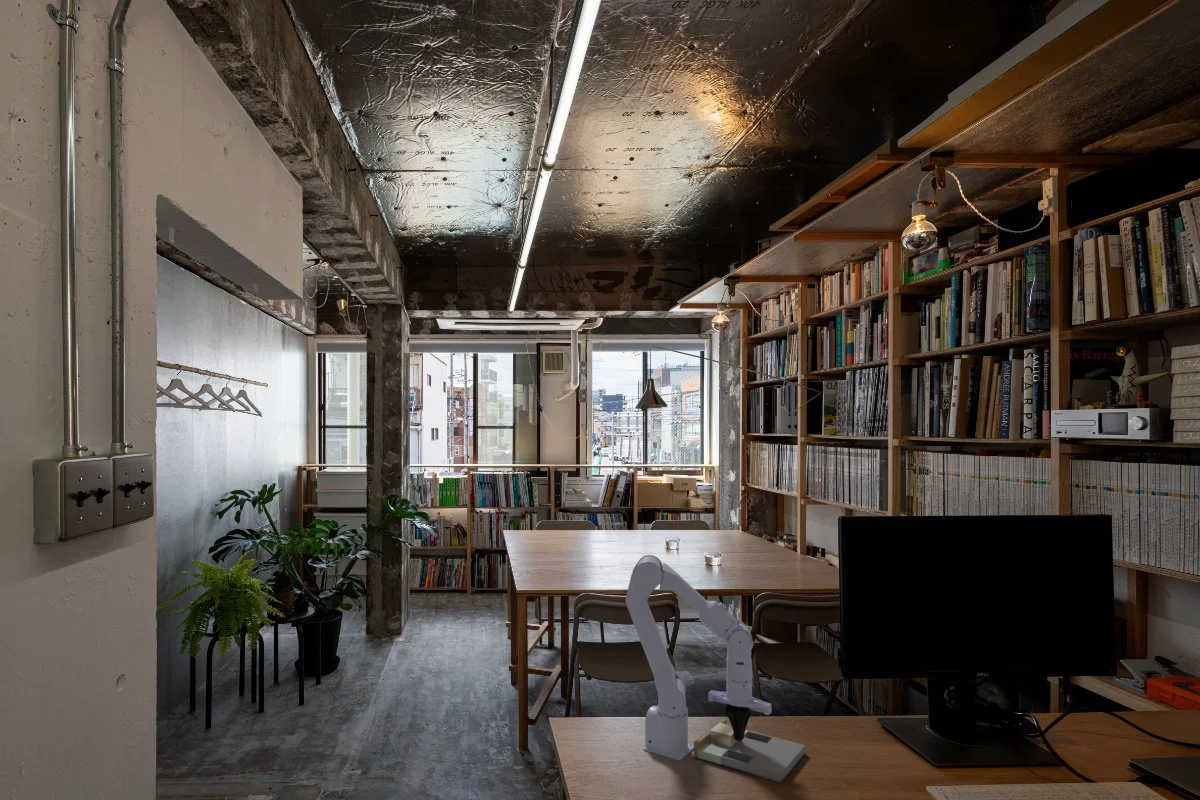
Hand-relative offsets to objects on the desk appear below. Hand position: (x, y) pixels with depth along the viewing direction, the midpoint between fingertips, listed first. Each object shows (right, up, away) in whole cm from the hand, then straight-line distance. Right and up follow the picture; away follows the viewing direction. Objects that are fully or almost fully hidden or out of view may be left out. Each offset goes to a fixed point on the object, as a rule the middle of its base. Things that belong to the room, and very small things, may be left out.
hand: (739, 739), depth 159 cm
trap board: (+2, -3, -2) cm, 4 cm away
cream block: (-3, -1, +2) cm, 4 cm away
